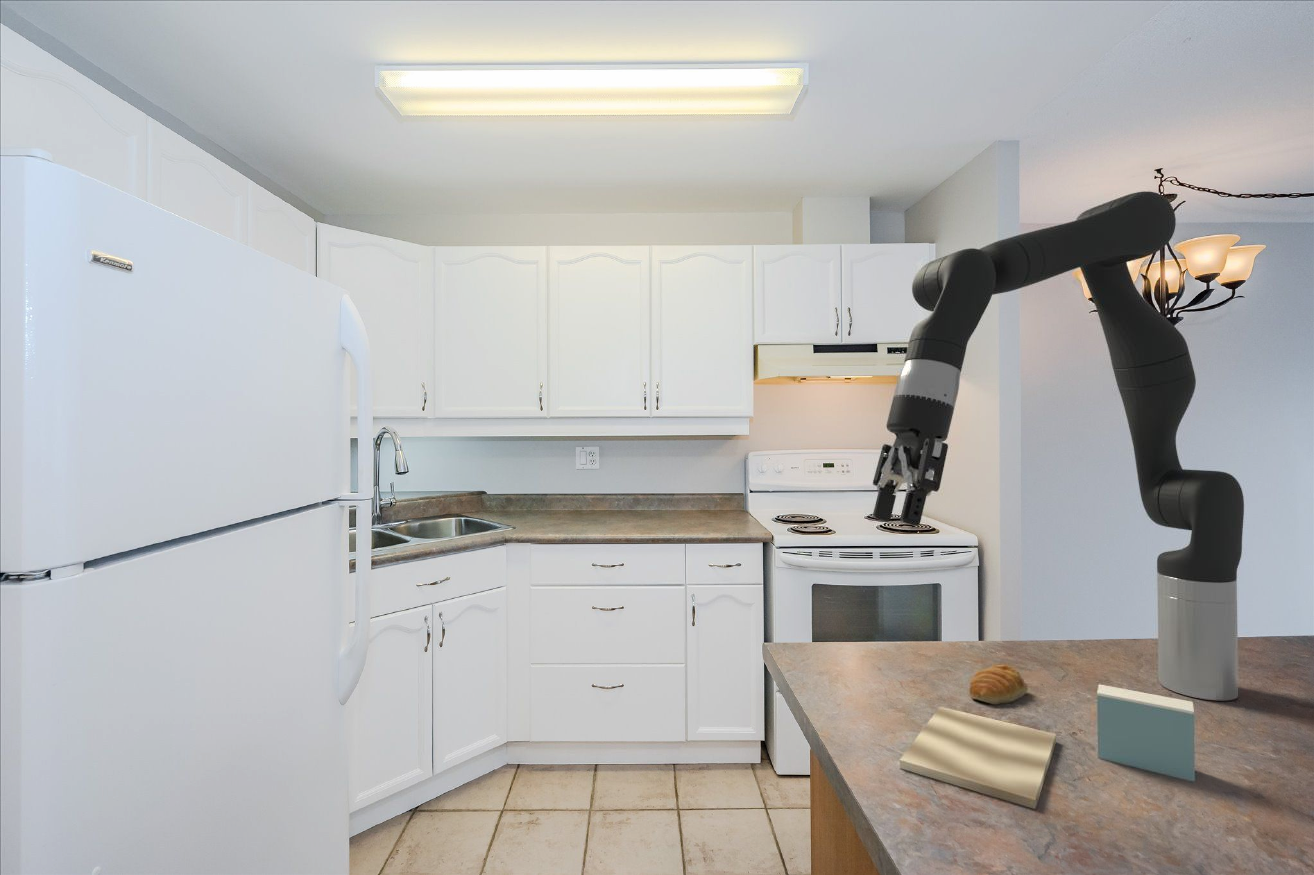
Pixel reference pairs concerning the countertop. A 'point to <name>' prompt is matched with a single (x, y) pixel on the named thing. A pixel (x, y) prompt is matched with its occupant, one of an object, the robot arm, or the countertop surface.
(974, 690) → the pastry
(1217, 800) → the countertop surface
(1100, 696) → the slab
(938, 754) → the board
